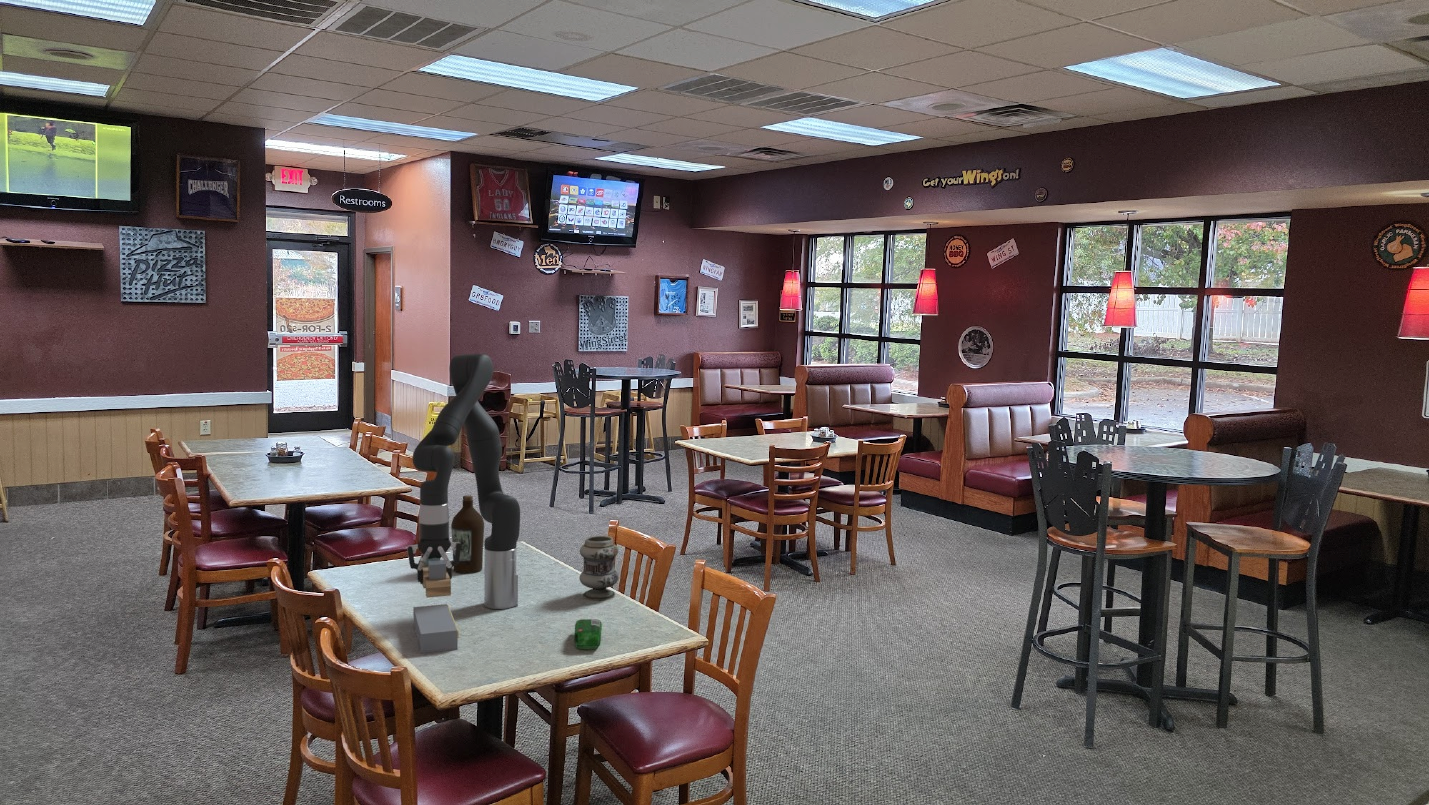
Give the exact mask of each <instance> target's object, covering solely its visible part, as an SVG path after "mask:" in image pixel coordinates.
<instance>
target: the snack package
mask: <svg viewBox="0 0 1429 805" xmlns="http://www.w3.org/2000/svg"><path fill="white" fill-rule="evenodd" d="M602 627H603V624H602V621H601V620H599V619H596V618H589V619H588V618H587V619H586V618H584V619H583V618H582V619H578V620H576V622H575V624H574V633H573V634H574V640H573V641H574V645H575V646H576V648H578V649H580V650H595V649H598V648H599V647H600V645H601V640H602V639H601V638H602V630H603V628H602Z"/></svg>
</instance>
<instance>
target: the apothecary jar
mask: <svg viewBox="0 0 1429 805" xmlns="http://www.w3.org/2000/svg"><path fill="white" fill-rule="evenodd" d="M614 543H615V542H614V538H613V537H611V536H608V535H593V536H588V537H585V539H584V544H583V545H581V547H580V548H579V554H580V556H581V557H583V569H582V570H583V571H582V572H581V573H580V575H579V576H578V577H579V578H578V579H579V582H580V583H581V585H583V586H585V587H587V588H589V589H588V590H586V591H584V592H583V594H582V597H583V598H584V599H587V600H591V601H605V600H610V599H612V598H615V596H616V593H615V592H614V591H613V590H611V589H608V588H610V587H613V586H614V585H615V584H617V582H618V581H619V578H620V576H619V573H618V572H617V571H616V568H615V557H616V556H617V555H618V554H619V547H618V546H617V545H616V544H614Z"/></svg>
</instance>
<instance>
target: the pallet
mask: <svg viewBox="0 0 1429 805" xmlns="http://www.w3.org/2000/svg"><path fill="white" fill-rule="evenodd" d="M422 569H423V584H421V586H422V587H423V589H425V597H426V599H429V598H440V597H451V596H452V578H451V579H450V577H449V575H448V573H447V571H446V579H442V580H430V579H429V576H428V566H425V565H424V566H423V568H422Z"/></svg>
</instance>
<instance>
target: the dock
mask: <svg viewBox="0 0 1429 805" xmlns="http://www.w3.org/2000/svg"><path fill="white" fill-rule="evenodd" d="M412 608H413V609H412V610H413V619H412V620H413V629H414V631H415V635H416V639H417V642H418V646H419V650H420V653H421V654H425V653H427V654H428V653H434V652H435V653H436V652H444V651H445V652H446V651H454V650H458V640H459V638H460V636H459V635H460V632H459V628H458V626H457V623H456V621H455V619H454V616H453V614H452V610H451V609H450V607H449V604H447V603H445V604H444V603H443V604H434V605H424V606H422V605H421V606H413V607H412Z"/></svg>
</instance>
